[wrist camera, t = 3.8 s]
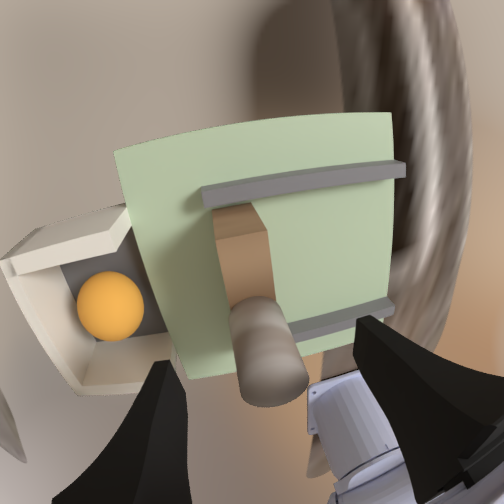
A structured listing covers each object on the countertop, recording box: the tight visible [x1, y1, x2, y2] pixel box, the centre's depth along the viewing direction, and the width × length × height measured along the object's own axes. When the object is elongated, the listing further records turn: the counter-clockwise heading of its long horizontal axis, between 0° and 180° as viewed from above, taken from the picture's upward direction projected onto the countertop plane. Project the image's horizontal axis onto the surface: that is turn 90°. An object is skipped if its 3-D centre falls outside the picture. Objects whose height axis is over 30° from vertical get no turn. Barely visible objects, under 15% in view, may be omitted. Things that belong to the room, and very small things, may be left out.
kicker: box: [212, 202, 309, 407], centre depth 13 cm, size 8×2×8 cm, turn 8°
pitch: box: [0, 112, 406, 396], centre depth 16 cm, size 16×22×4 cm
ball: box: [77, 271, 144, 342], centre depth 15 cm, size 4×4×4 cm
